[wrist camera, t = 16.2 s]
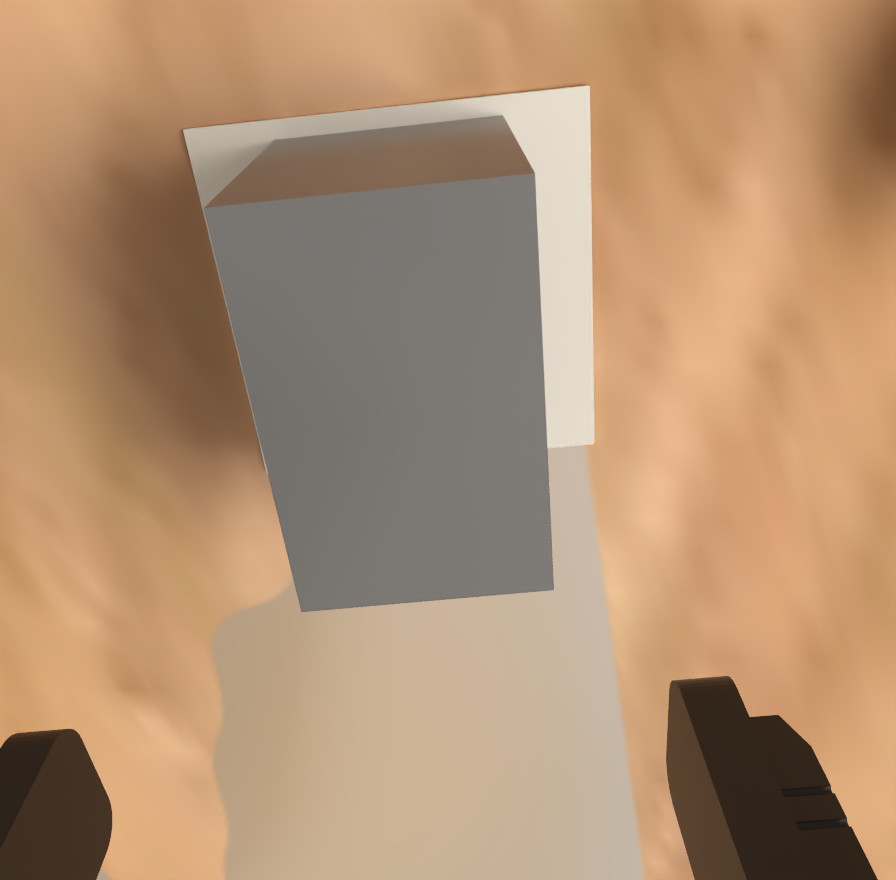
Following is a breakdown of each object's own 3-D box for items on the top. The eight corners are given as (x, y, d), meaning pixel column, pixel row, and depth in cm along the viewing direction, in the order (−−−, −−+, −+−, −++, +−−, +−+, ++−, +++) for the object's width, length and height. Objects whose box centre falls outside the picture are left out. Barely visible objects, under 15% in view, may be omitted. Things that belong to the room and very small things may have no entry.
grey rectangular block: (276, 139, 24) (203, 208, 17) (502, 114, 24) (534, 173, 16) (335, 450, 30) (301, 612, 22) (522, 432, 29) (553, 590, 22)
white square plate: (184, 128, 24) (183, 129, 24) (588, 85, 24) (589, 85, 24) (267, 471, 30) (266, 474, 30) (593, 441, 30) (594, 443, 29)
